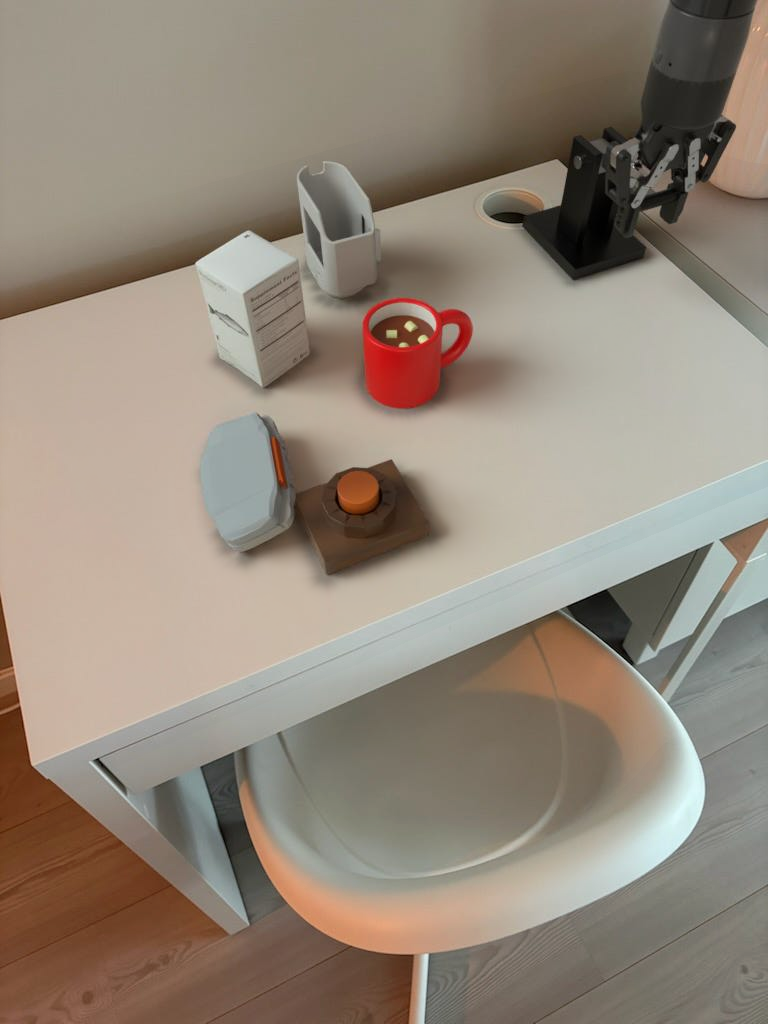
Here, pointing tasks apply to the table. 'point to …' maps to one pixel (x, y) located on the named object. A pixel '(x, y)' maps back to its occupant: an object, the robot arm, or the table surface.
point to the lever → (651, 197)
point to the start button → (358, 492)
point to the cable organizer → (338, 230)
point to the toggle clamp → (584, 217)
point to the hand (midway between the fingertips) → (645, 225)
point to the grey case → (247, 481)
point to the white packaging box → (255, 306)
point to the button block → (360, 519)
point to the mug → (409, 350)
